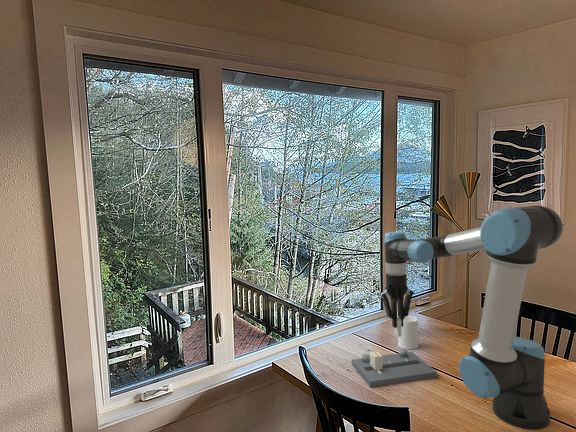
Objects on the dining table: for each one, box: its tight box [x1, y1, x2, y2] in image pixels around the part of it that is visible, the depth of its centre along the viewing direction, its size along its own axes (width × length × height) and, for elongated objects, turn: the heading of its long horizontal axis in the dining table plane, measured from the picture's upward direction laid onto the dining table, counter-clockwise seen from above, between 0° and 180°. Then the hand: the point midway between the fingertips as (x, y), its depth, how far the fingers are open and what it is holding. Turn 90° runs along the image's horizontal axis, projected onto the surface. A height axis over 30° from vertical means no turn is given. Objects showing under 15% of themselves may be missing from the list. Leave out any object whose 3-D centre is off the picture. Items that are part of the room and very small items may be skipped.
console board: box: [351, 348, 438, 388], centre depth 151 cm, size 18×26×4 cm
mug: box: [397, 315, 427, 350], centre depth 172 cm, size 12×8×12 cm
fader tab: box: [369, 350, 383, 370], centre depth 150 cm, size 4×3×5 cm
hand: (398, 335), depth 150 cm, fingers closed
